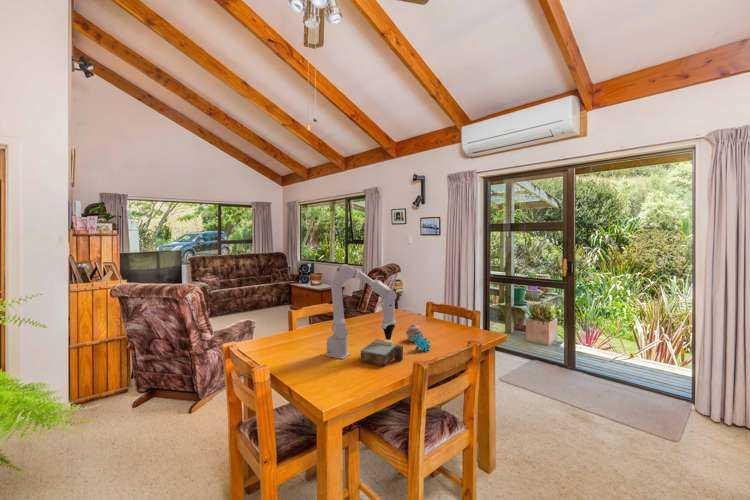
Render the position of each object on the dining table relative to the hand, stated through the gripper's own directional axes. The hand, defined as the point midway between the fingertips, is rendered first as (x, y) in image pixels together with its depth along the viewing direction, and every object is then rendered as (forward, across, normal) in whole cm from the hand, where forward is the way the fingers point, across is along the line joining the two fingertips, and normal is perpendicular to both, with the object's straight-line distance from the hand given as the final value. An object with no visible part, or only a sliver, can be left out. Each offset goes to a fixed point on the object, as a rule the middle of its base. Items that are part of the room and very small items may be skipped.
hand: (388, 339), depth 177 cm
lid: (+1, -12, 0) cm, 12 cm away
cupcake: (+6, +22, -7) cm, 24 cm away
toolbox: (+6, -12, 0) cm, 13 cm away
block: (+6, -9, -9) cm, 14 cm away
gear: (+6, +10, -15) cm, 19 cm away
